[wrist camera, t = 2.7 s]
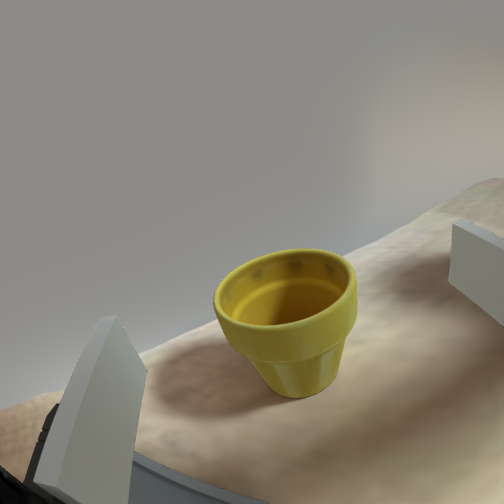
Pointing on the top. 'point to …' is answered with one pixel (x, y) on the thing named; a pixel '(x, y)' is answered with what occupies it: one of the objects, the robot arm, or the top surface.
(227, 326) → the plant pot
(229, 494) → the charcoal tray
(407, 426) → the top surface
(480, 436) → the top surface
